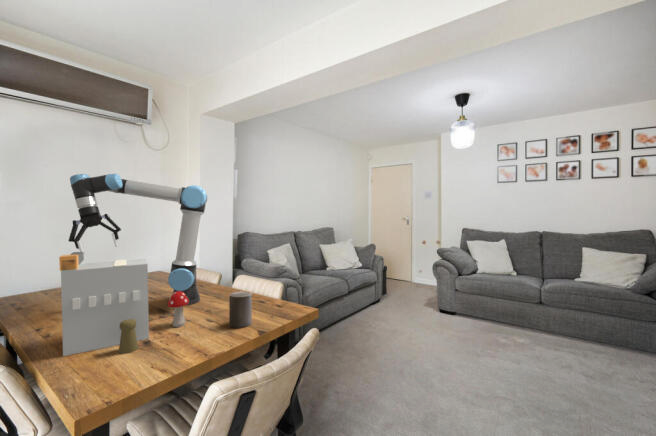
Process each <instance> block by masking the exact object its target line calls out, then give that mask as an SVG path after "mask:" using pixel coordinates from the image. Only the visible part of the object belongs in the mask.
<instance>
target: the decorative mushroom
mask: <svg viewBox="0 0 656 436" xmlns="http://www.w3.org/2000/svg"><path fill="white" fill-rule="evenodd" d="M188 303H189V299H188V298H187V296H186V295H185V293H183V292H181V291H177V292H175V293H174V294H173V295H172V294H171V296H170V298H169V299H168V302H167V306H168V307H169V308H174V309H173V319H172V322H171V323H172V327H174V328H181V327H184V326H185V325H186V319H185V315H184V307H186V306H188V305H187V304H188Z"/></svg>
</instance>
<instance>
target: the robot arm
mask: <svg viewBox="0 0 656 436" xmlns="http://www.w3.org/2000/svg"><path fill="white" fill-rule="evenodd" d="M69 181H70V187H71V191H72V194H73V196H74V199H75V204H76V207H77V209H78V210H77V211H78V216H79V218H80V219H79V220H78V219H77V220H75V219H74V220H72V227H71V232H70V233H69V234H70V235H69V237H68V242H70V243H71V242H73V243H74V245H75V248H76V249H77V250H78V251H79V252H84V256H85V255H86V253H85V250H84V245H83V242H82V240H81V239H82V237H83V235H84V233H85V232H86V231H87V229H88V228H93V227H97V226H101V227H103V228H104V229H107V230H108V231H109V232H112V233H111V237H112V240H113V244H114V247H115V248H118V247H119V242H118V240H119V238H120V237H119V232H120V231H122V229H121V227H120V226H119V225H118V224H117V223H116V222H115V221H114V220H112V218H111V216H110V215H109V214H108V213H104V214H102V215H101V212H100V209H99V207H98V206H97V205H98V202H97V199H96V195H95V194H98V193H103V192H110V193H111V192H112V193H114V194H123V195H131V196H137V197H142V198H150V199H157V200H163V201H167V202H168V201H169V202H176V203H178V205H180V207H179V210H180V211H181V213H182V217H181V223H180V229H179V235H178V236H179V237H178V242H177V243H178V244H177V247H176V248H177V250H176V256H175V259H174V260H173V261H172V262H171V267H170V273H169V275H168V276H167V280H168V281H167V282H168V286H170V287H171V288H172V290H173V291H172V293H171V296H172V295H173V294H174V293H175V292H177V291H181V292H183V293H185V295H186V296H187V298H188V299H189V303H188V304H187V305H186V306H188V305H194V304H196V303H198V302H200V301H201V295H200V293H199V290H198V288H197V266H198V265H197V261H195V254H196V248H197V241H198V237H199V227H200V222H201V216H202V215H203V214H205V209H206V203H207V202H208V195H207V192H206V190H205V189H204V188H202V187H201V186H200V185H193V184H192V185H188V186H186V187H184V186H182V187H172V186H167V185H162V184H155V183H149V182H142V181H136V180H129V179H125V178H122V177H121V176H120V175H119V174H118V173H108V174H103V175H98V176H93V177H92V176H91V177H90V175H89V174H87V173H80V174H79V173H77V174H74V175H72V176H70V177H69ZM102 219H104V220H106V221H107V222H108V223H109V224H110V225H111V226H112V227H111V226H110V225H108V224H106V223H104V222H103V221H102ZM80 224H82V225H81V228H80V229H79V231H78V228H79V225H80ZM77 232H78V233H77Z"/></svg>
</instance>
